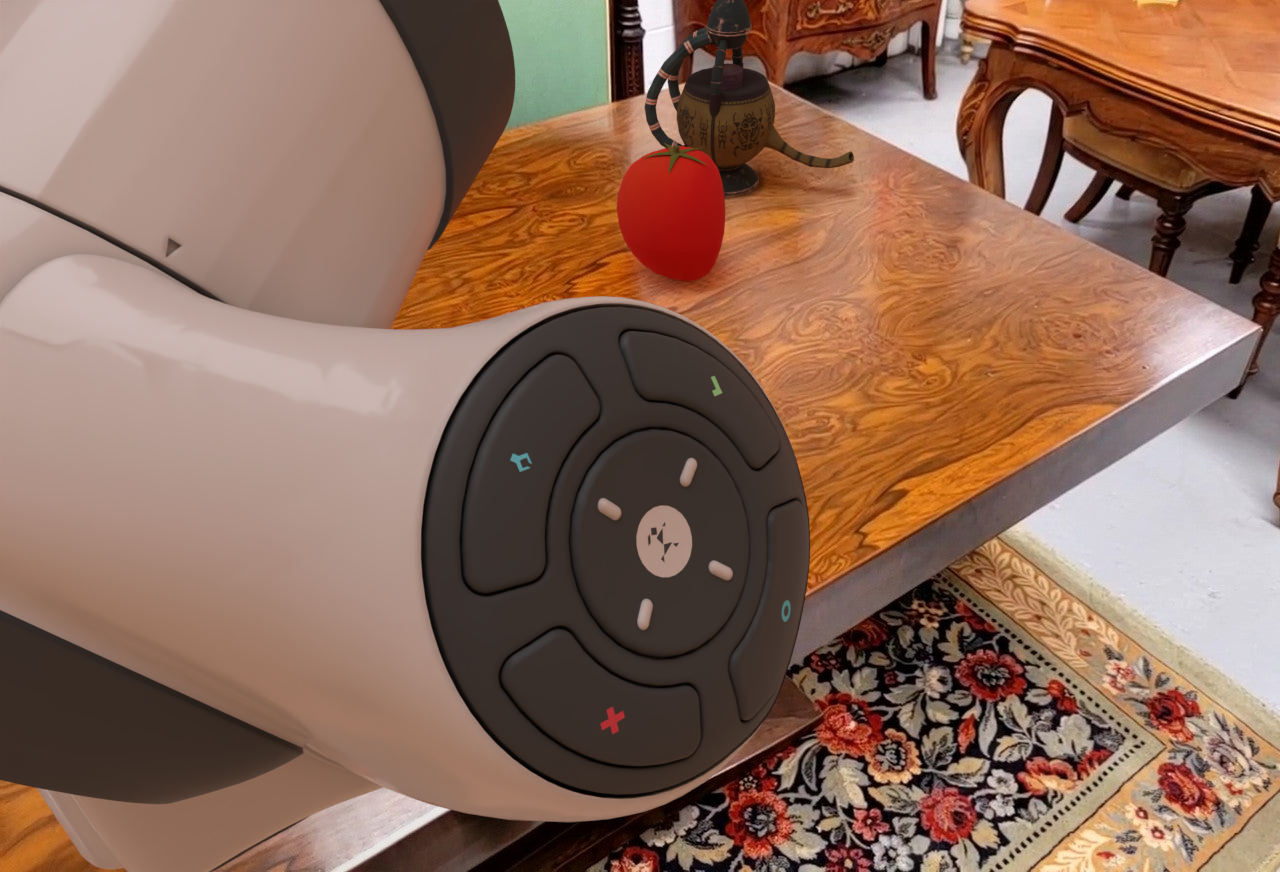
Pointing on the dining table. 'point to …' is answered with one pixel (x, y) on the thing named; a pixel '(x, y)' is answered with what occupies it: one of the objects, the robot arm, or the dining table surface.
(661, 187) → the tomato
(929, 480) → the dining table surface
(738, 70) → the teapot
